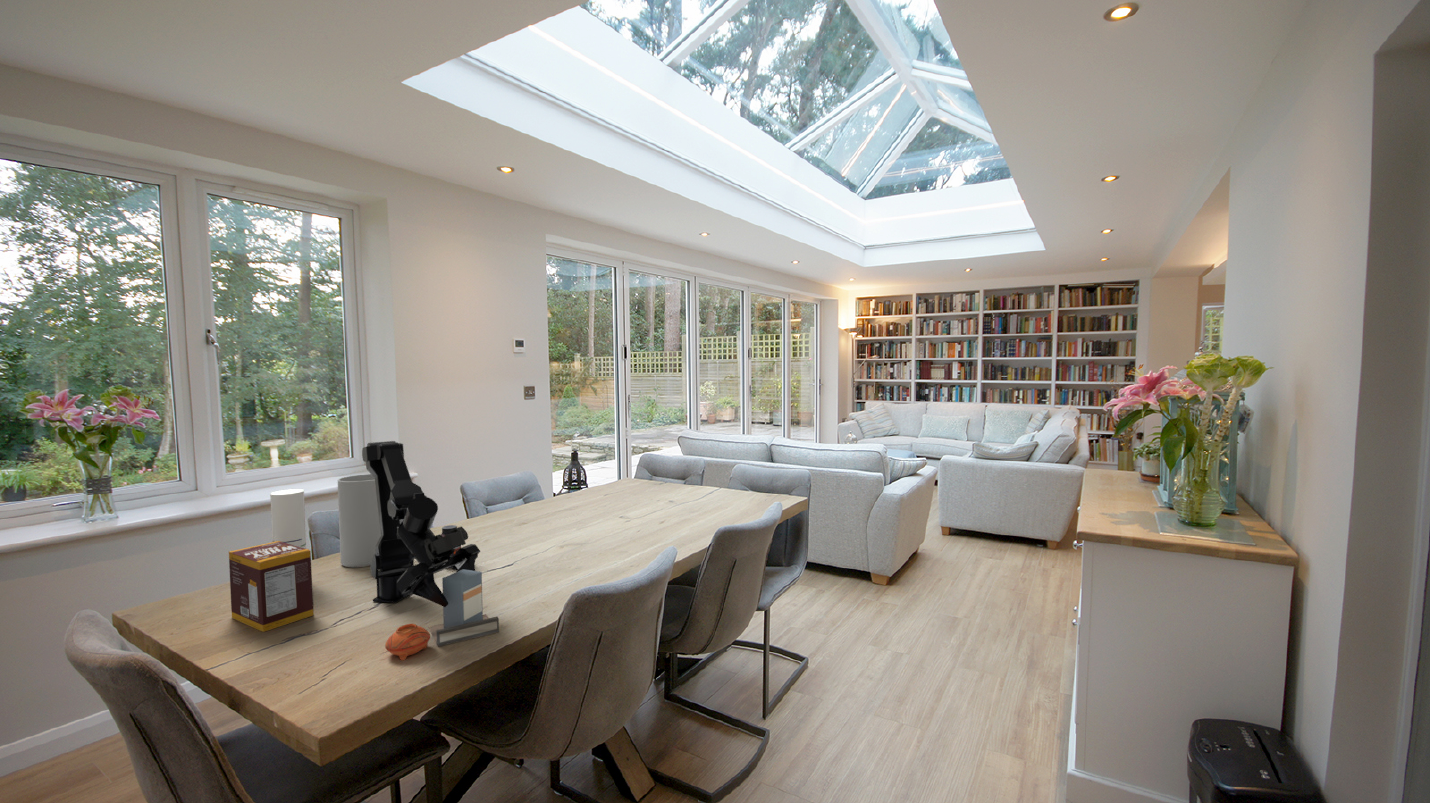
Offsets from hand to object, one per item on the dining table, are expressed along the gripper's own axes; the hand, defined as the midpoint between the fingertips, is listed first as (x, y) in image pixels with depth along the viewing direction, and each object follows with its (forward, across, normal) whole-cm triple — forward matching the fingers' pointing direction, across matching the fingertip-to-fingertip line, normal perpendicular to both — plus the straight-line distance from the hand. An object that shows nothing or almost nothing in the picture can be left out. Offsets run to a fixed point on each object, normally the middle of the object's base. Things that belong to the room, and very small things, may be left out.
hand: (463, 597), depth 128 cm
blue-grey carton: (+5, 0, +5) cm, 7 cm away
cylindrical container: (-40, +8, +51) cm, 65 cm away
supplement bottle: (-21, +35, +32) cm, 52 cm away
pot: (+4, -11, +8) cm, 15 cm away
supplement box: (-29, -7, +40) cm, 50 cm away
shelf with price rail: (+6, 0, +6) cm, 8 cm away
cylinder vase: (-40, +29, +51) cm, 71 cm away
